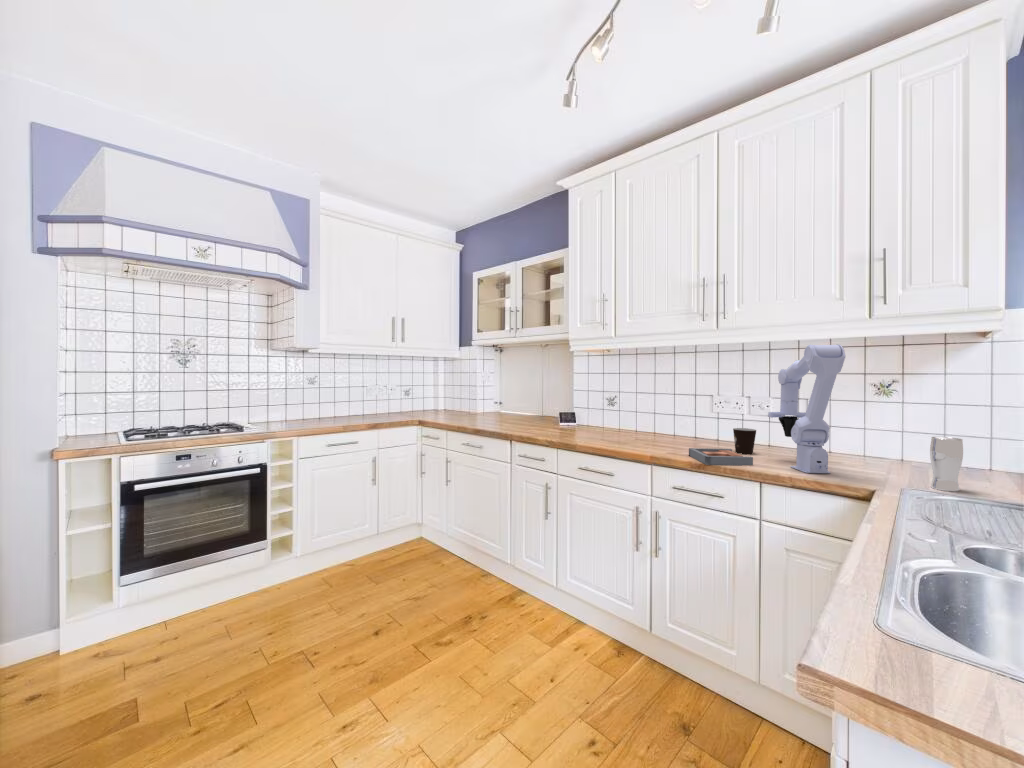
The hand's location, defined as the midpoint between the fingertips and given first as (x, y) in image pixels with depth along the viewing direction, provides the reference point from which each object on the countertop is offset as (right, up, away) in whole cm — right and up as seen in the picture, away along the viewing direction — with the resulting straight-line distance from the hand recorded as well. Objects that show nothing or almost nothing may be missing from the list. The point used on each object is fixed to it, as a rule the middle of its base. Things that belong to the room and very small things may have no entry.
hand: (788, 436), depth 170 cm
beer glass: (+22, -11, -40) cm, 46 cm away
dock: (-26, -9, 0) cm, 27 cm away
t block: (-26, -9, 0) cm, 28 cm away
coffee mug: (-7, -9, +18) cm, 21 cm away
